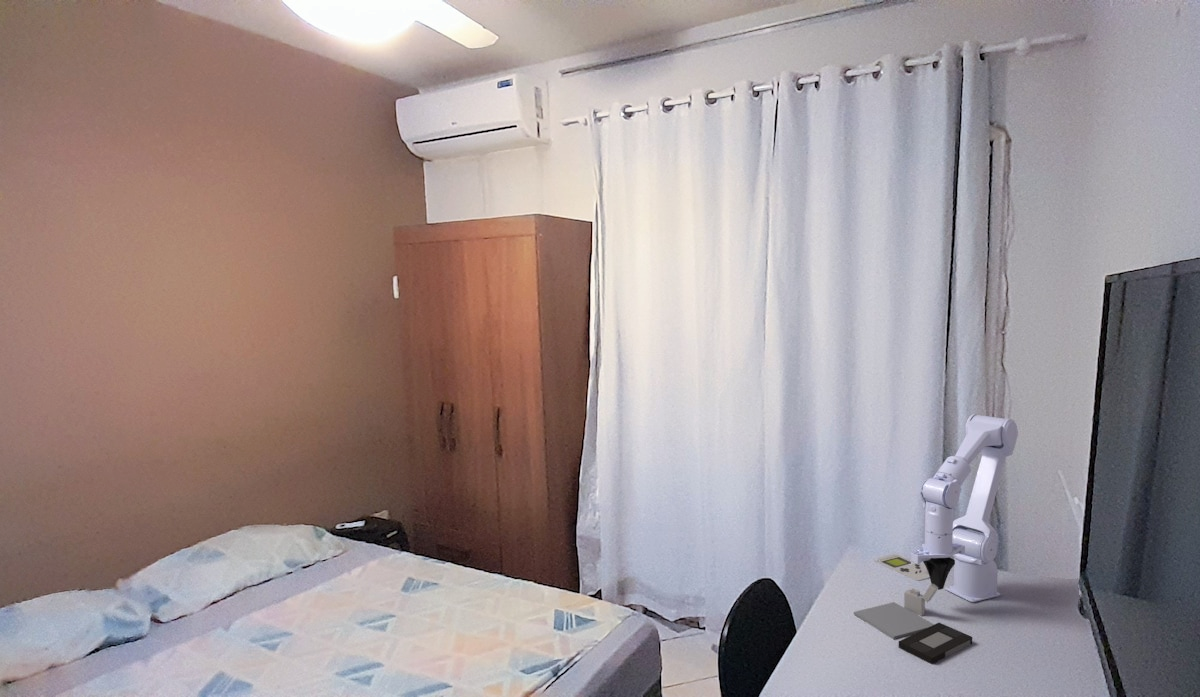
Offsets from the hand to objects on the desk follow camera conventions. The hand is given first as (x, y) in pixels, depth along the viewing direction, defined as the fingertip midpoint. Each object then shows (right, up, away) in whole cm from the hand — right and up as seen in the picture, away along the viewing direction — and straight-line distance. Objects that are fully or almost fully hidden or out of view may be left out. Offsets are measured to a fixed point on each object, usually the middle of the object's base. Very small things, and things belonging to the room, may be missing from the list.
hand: (937, 587), depth 155 cm
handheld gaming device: (+4, -4, +24) cm, 25 cm away
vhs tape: (-8, -8, -15) cm, 18 cm away
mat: (-12, -6, -4) cm, 14 cm away
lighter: (-5, -6, -1) cm, 8 cm away
